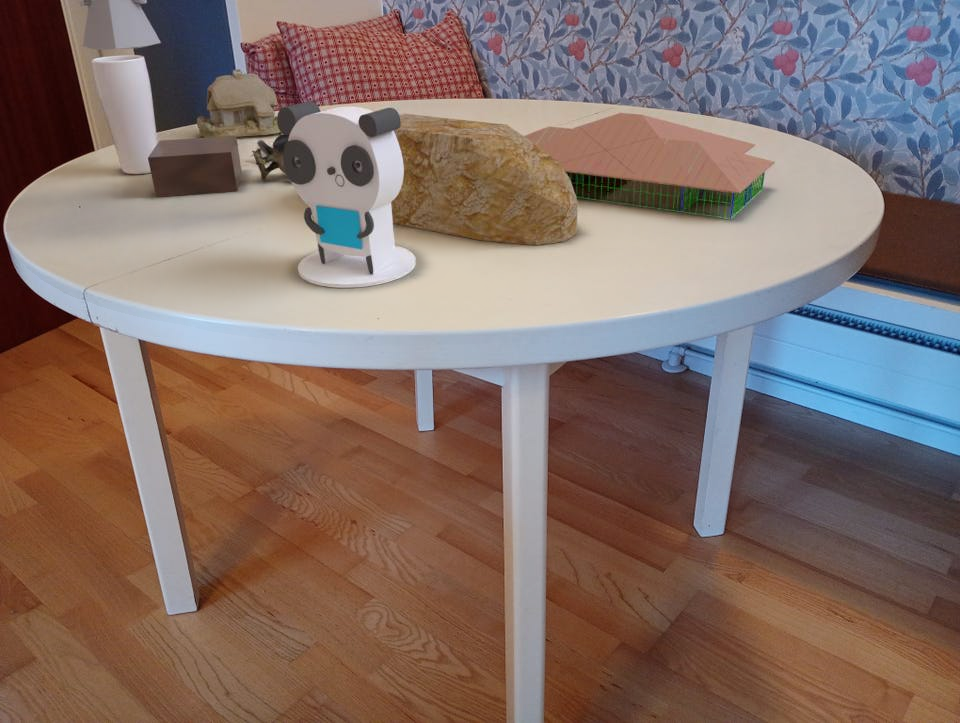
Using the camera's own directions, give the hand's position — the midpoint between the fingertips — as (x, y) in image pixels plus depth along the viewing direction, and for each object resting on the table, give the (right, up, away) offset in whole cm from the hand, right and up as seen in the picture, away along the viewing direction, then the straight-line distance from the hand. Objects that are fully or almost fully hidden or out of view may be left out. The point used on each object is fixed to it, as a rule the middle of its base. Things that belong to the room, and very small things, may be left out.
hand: (113, 4), depth 83 cm
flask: (0, -4, +2) cm, 4 cm away
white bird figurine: (+7, -8, +35) cm, 37 cm away
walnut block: (0, -13, +25) cm, 28 cm away
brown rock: (+32, -19, +11) cm, 39 cm away
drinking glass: (-10, -10, +32) cm, 35 cm away
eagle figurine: (+12, -12, +26) cm, 31 cm away
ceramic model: (-2, +2, +54) cm, 54 cm away
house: (+57, -13, +22) cm, 63 cm away
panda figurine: (+25, -27, -3) cm, 37 cm away
